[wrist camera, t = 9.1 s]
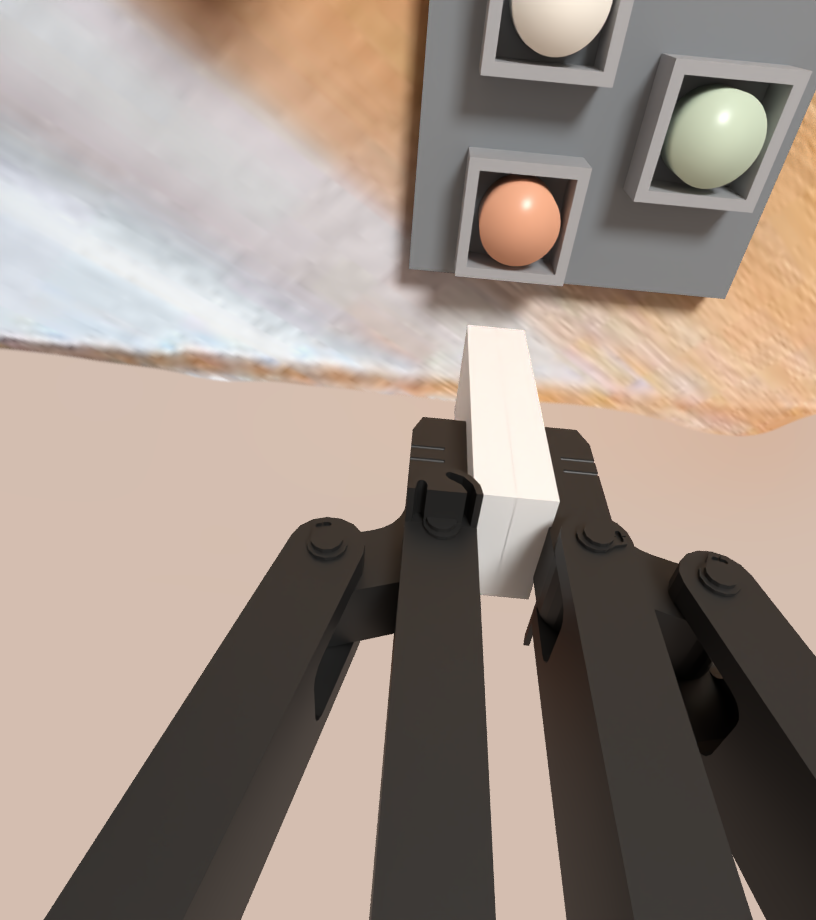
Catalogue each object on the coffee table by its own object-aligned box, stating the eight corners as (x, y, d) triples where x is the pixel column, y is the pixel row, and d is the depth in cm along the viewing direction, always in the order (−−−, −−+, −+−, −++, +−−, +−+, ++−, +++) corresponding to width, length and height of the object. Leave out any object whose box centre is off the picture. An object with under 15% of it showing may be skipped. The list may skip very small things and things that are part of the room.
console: (410, 257, 39) (406, 284, 35) (440, -126, 28) (438, -142, 24) (713, 286, 39) (739, 316, 35) (868, -85, 28) (928, -94, 24)
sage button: (648, 173, 33) (659, 184, 31) (676, 79, 30) (691, 85, 28) (727, 180, 33) (743, 192, 31) (763, 87, 30) (783, 94, 28)
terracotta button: (473, 248, 36) (474, 262, 34) (484, 169, 33) (486, 180, 31) (545, 254, 36) (550, 269, 34) (562, 176, 33) (569, 188, 31)
